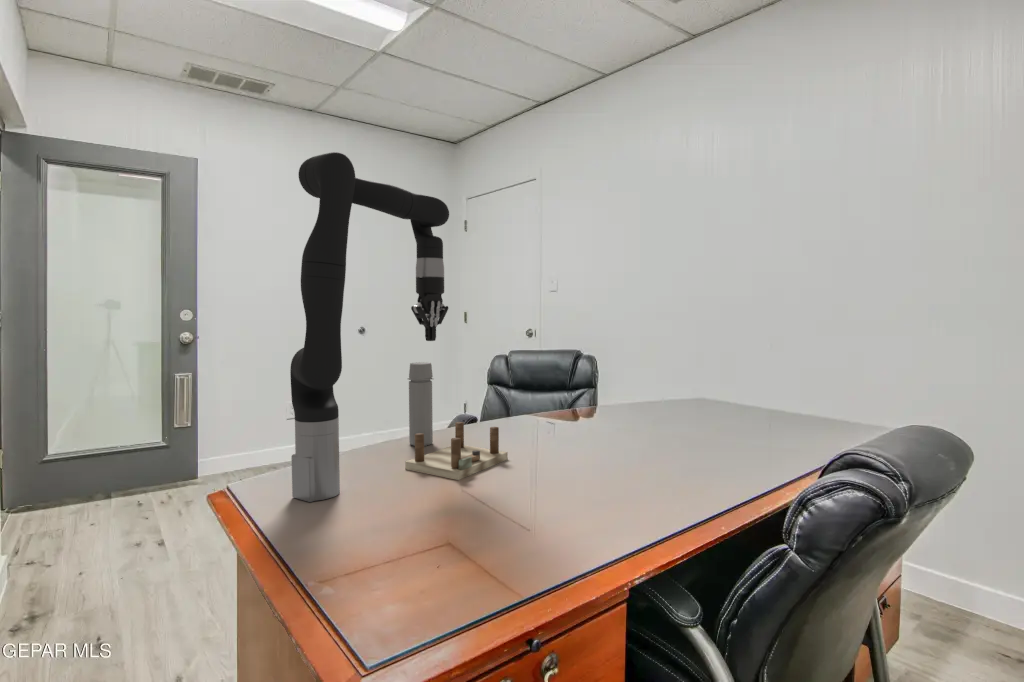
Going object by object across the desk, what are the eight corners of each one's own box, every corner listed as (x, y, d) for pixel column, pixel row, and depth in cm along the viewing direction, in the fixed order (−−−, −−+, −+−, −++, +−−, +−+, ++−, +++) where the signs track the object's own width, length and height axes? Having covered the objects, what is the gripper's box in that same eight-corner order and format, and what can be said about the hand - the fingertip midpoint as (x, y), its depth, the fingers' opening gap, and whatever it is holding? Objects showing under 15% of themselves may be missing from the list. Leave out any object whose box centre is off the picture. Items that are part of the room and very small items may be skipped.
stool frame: (458, 480, 134) (458, 443, 134) (405, 469, 143) (405, 434, 143) (507, 459, 153) (507, 427, 152) (457, 450, 162) (457, 420, 161)
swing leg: (474, 457, 146) (474, 431, 146) (482, 458, 145) (482, 432, 144) (449, 467, 137) (449, 439, 137) (456, 468, 136) (456, 440, 135)
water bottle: (431, 447, 166) (431, 364, 165) (405, 447, 166) (404, 364, 165) (436, 440, 175) (436, 361, 174) (412, 439, 175) (411, 361, 174)
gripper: (435, 277, 155) (435, 339, 156) (402, 275, 144) (403, 341, 145) (456, 276, 151) (456, 340, 152) (424, 274, 140) (424, 342, 141)
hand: (430, 340), depth 148 cm, fingers closed
